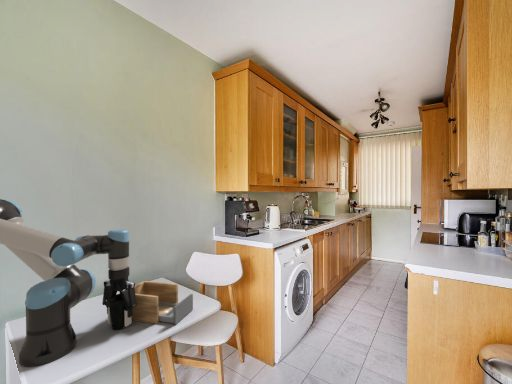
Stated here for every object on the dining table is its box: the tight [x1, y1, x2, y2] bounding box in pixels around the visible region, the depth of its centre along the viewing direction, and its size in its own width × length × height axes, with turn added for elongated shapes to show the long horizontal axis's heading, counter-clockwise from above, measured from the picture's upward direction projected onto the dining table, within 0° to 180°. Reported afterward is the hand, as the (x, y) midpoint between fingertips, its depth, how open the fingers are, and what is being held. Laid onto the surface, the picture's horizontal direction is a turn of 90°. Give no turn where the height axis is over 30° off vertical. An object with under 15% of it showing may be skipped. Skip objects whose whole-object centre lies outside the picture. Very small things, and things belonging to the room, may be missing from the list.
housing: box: [129, 280, 179, 324], centre depth 110 cm, size 15×19×11 cm
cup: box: [109, 293, 126, 331], centre depth 99 cm, size 8×8×12 cm
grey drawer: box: [159, 293, 194, 325], centre depth 108 cm, size 14×18×7 cm
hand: (119, 323), depth 99 cm, fingers closed on cup, 8 cm apart
